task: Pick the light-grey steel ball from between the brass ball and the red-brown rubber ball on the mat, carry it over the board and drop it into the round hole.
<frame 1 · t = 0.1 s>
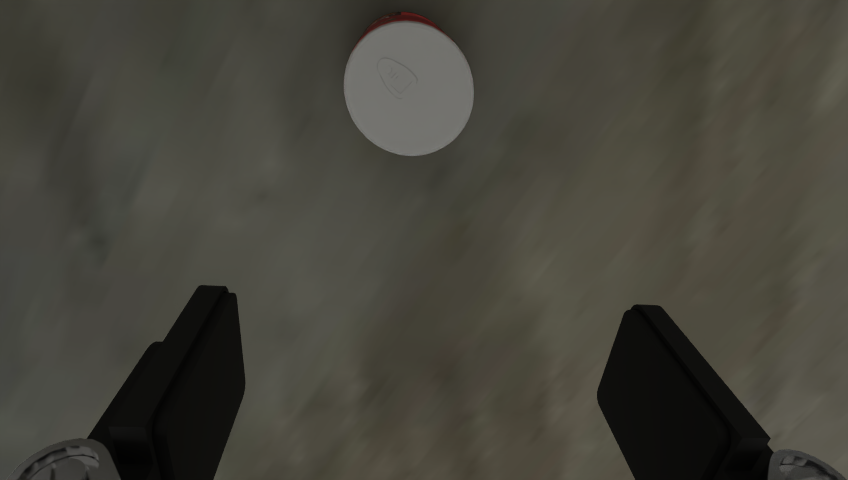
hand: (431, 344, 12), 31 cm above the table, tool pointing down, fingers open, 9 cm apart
canned food: (405, 65, 39), on the table
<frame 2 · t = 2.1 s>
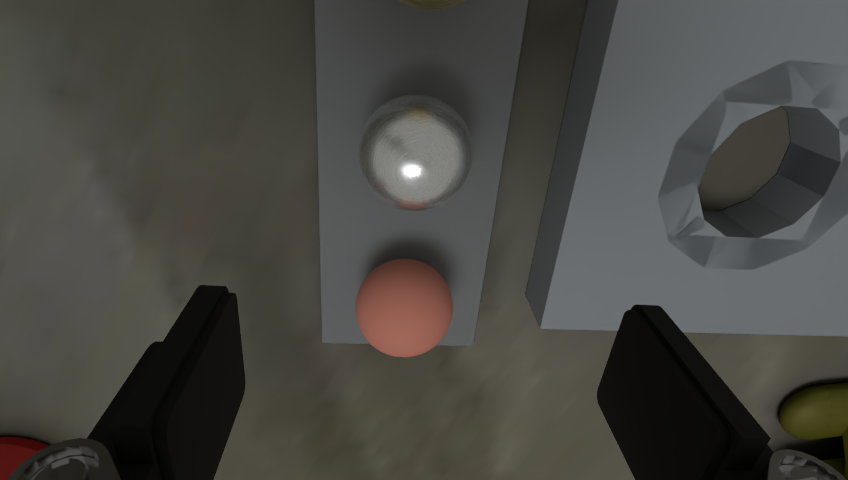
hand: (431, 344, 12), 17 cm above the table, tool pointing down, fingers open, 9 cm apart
steel ball: (415, 154, 23), point 3 cm above the table, touching mat
board: (726, 154, 28), on the table
mat: (412, 135, 26), on the table
rubber ball: (404, 307, 28), point 3 cm above the table, touching mat
canned food: (28, 467, 36), on the table
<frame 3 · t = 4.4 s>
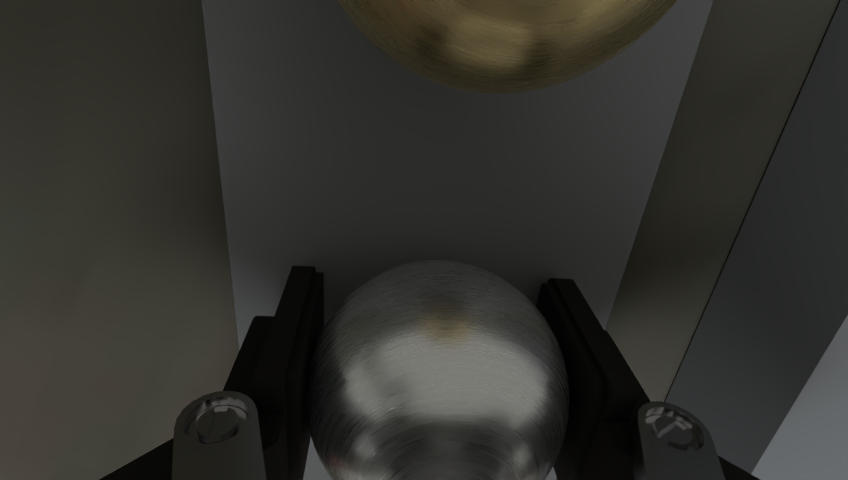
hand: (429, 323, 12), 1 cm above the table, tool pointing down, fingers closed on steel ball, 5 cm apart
steel ball: (436, 387, 10), point 3 cm above the table, touching gripper, mat
mat: (427, 302, 13), on the table
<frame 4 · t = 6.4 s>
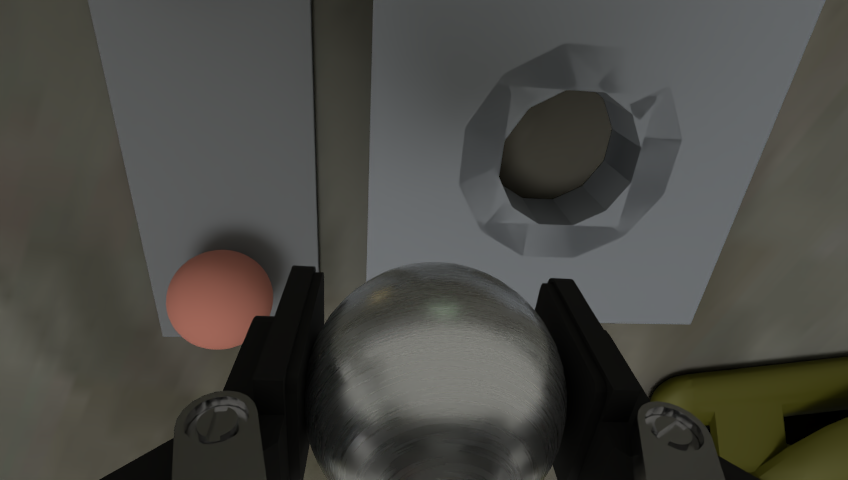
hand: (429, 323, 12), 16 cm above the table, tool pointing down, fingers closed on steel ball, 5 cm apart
steel ball: (434, 389, 10), point 19 cm above the table, touching gripper
spaceship: (805, 470, 45), on the table
board: (548, 141, 27), on the table
mat: (218, 124, 26), on the table
rubber ball: (221, 298, 27), point 3 cm above the table, touching mat
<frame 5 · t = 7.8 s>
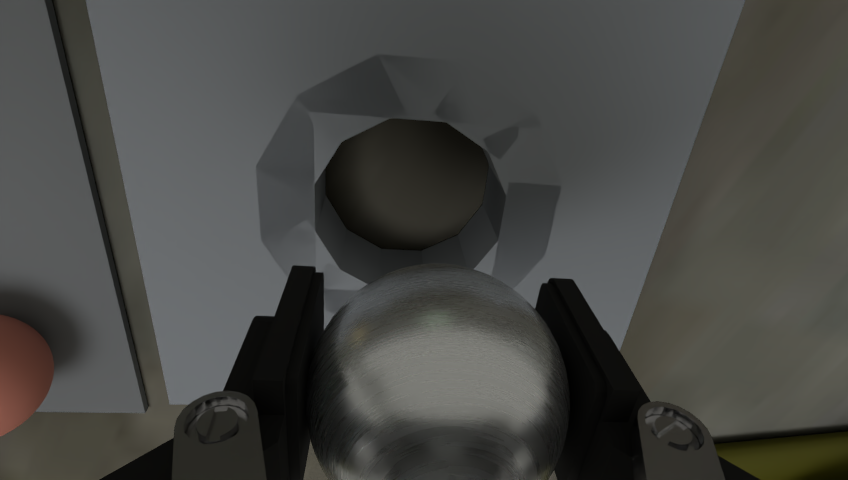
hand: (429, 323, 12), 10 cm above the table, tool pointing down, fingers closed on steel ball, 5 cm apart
steel ball: (436, 391, 10), point 12 cm above the table, touching gripper
board: (407, 179, 21), on the table
when the fingers open (5 cm above the table, at t = 8.9 s): steel ball drops 4 cm, point 3 cm above the table.
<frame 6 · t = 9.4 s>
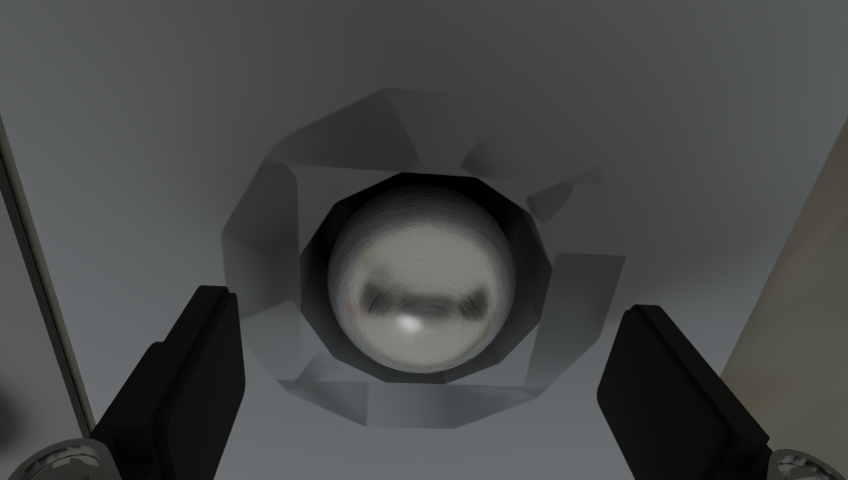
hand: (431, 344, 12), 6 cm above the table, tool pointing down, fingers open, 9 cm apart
steel ball: (421, 277, 14), point 3 cm above the table
board: (419, 234, 17), on the table
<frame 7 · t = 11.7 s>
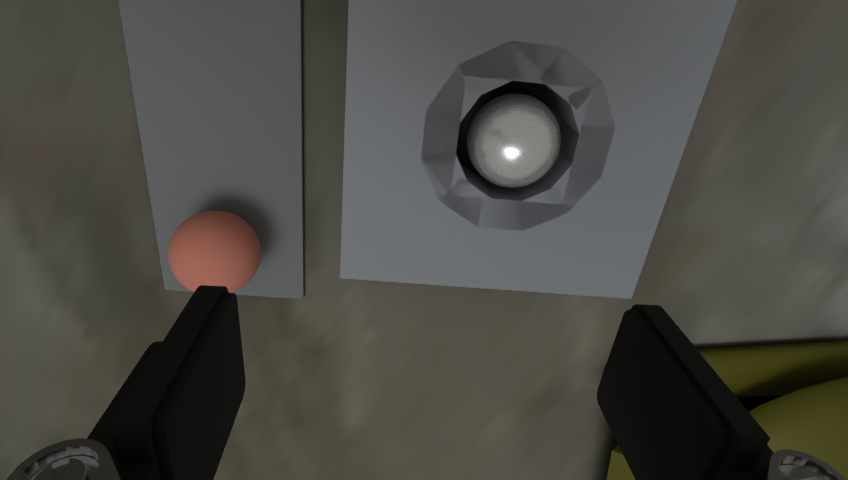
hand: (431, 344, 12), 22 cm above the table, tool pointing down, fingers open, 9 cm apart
steel ball: (513, 141, 29), point 3 cm above the table
spaceship: (758, 457, 48), on the table
board: (506, 129, 31), on the table
mat: (220, 101, 30), on the table
rubber ball: (216, 253, 31), point 3 cm above the table, touching mat
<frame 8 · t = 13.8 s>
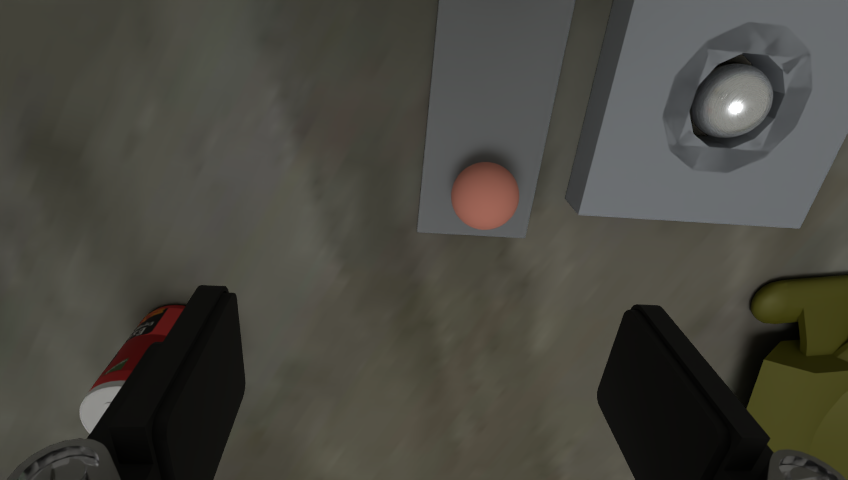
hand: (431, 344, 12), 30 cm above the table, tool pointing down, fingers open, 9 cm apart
steel ball: (729, 101, 37), point 3 cm above the table
board: (710, 93, 40), on the table
mat: (495, 74, 38), on the table
rubber ball: (484, 196, 40), point 3 cm above the table, touching mat
canned food: (185, 333, 48), on the table
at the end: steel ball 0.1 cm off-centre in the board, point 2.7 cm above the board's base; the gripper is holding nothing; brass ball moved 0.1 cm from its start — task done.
